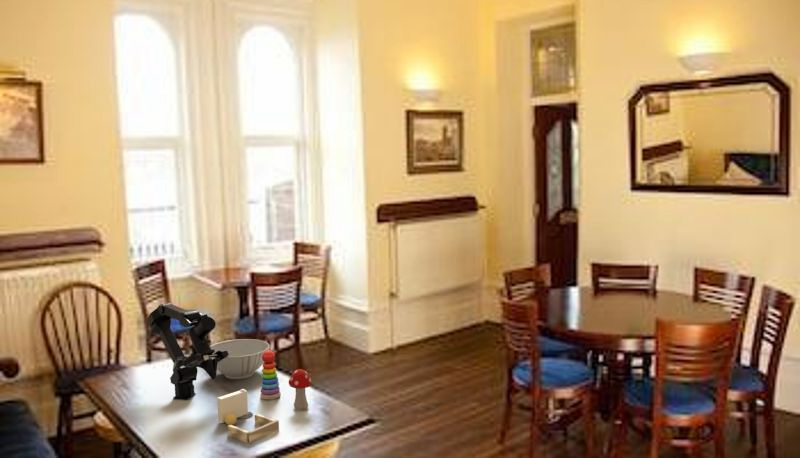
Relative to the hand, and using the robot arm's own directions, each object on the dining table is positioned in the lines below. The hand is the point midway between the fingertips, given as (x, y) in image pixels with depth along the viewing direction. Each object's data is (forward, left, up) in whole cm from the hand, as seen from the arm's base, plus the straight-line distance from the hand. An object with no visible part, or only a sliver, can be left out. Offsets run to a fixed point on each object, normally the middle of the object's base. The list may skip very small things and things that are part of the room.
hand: (214, 378), depth 254 cm
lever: (+10, -6, -12) cm, 17 cm away
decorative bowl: (-9, +40, -13) cm, 43 cm away
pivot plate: (+12, -3, -12) cm, 18 cm away
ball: (+12, -11, -10) cm, 19 cm away
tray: (+23, -16, -12) cm, 31 cm away
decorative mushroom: (+31, +8, -13) cm, 34 cm away
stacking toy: (+15, +17, -13) cm, 26 cm away
